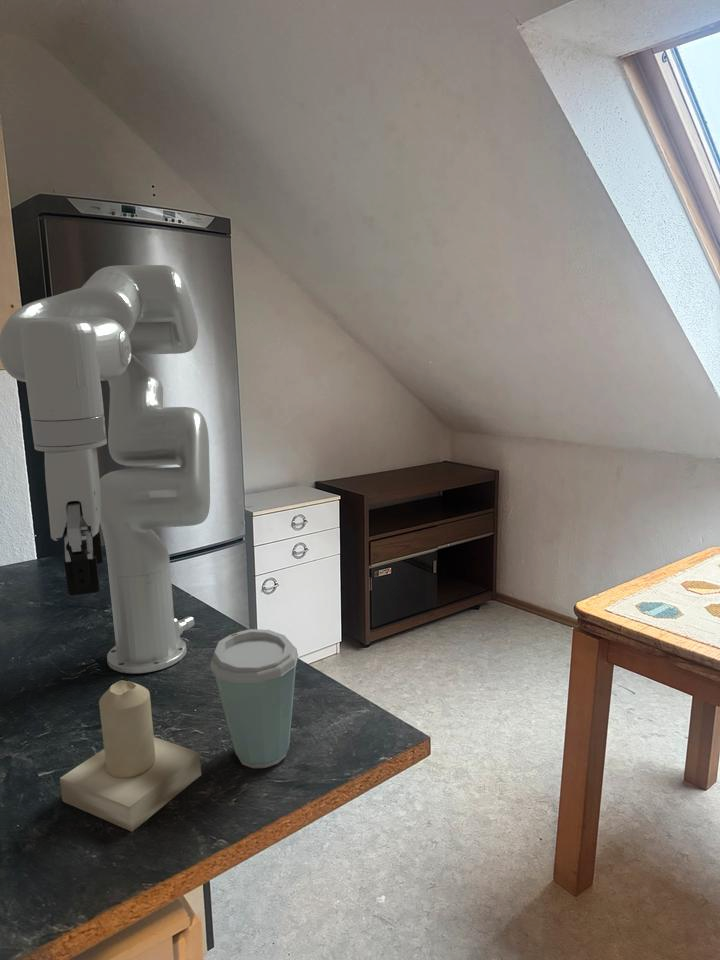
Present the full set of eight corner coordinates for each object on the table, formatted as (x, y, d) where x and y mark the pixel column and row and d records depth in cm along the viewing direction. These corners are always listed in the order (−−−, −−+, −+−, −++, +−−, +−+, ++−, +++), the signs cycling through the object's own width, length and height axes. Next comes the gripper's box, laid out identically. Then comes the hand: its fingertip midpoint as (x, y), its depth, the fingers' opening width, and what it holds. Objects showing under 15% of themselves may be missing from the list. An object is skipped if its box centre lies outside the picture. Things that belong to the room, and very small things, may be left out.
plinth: (135, 750, 89) (133, 729, 88) (201, 774, 84) (199, 752, 83) (62, 801, 79) (59, 778, 79) (132, 831, 74) (129, 807, 74)
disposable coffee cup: (320, 754, 87) (316, 643, 84) (249, 793, 80) (241, 674, 77) (270, 722, 95) (264, 619, 92) (201, 755, 88) (192, 645, 85)
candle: (165, 761, 81) (158, 683, 79) (123, 785, 77) (115, 703, 75) (138, 745, 85) (131, 669, 83) (97, 766, 81) (88, 688, 79)
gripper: (42, 424, 84) (59, 558, 88) (21, 448, 68) (43, 611, 72) (107, 420, 86) (121, 551, 90) (103, 443, 70) (119, 601, 74)
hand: (86, 577), depth 81 cm, fingers open, 9 cm apart
